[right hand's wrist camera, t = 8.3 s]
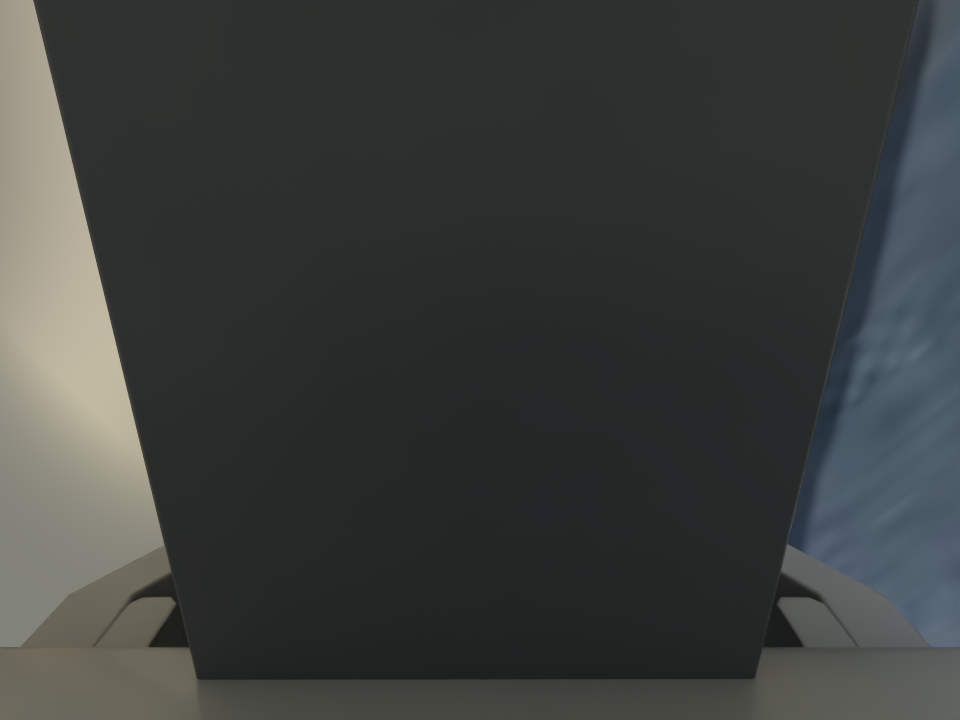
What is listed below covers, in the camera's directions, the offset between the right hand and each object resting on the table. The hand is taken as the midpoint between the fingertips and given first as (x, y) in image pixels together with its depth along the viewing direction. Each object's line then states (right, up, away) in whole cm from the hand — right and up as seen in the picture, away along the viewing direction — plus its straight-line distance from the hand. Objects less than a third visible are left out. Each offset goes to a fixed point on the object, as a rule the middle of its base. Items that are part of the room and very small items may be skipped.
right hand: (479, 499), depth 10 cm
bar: (0, +9, +1) cm, 9 cm away
